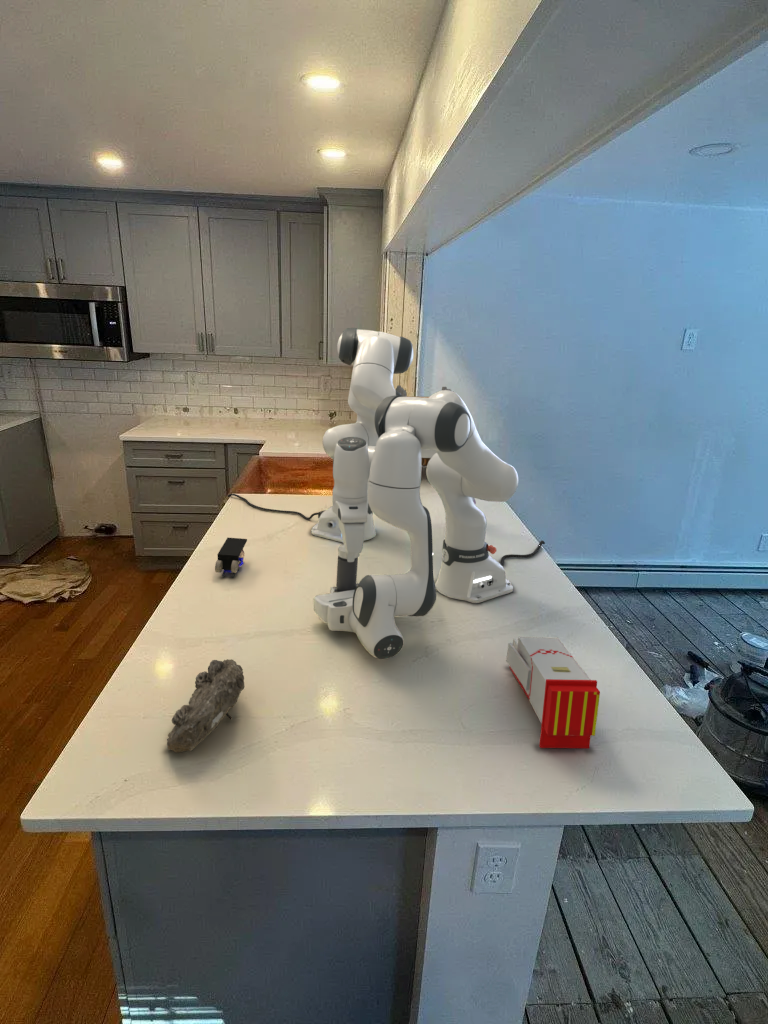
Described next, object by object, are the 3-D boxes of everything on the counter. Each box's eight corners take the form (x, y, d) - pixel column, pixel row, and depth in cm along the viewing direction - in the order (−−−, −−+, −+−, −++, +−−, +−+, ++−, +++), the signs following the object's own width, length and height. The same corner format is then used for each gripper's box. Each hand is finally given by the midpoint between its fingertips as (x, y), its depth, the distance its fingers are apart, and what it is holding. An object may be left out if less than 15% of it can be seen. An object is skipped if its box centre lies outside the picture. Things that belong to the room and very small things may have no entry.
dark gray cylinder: (333, 611, 147) (336, 554, 142) (337, 601, 152) (339, 546, 146) (353, 613, 147) (356, 556, 141) (355, 603, 152) (359, 548, 146)
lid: (353, 548, 148) (353, 542, 147) (363, 556, 144) (363, 550, 143) (334, 552, 145) (334, 545, 145) (344, 560, 141) (344, 553, 140)
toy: (554, 620, 129) (609, 687, 99) (549, 674, 131) (601, 755, 102) (501, 619, 128) (541, 686, 99) (497, 673, 131) (534, 754, 102)
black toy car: (238, 584, 162) (249, 557, 175) (236, 562, 158) (247, 536, 172) (215, 584, 161) (227, 556, 175) (212, 561, 158) (225, 535, 171)
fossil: (192, 660, 117) (244, 628, 112) (224, 691, 120) (276, 661, 115) (142, 746, 98) (202, 712, 93) (182, 779, 101) (242, 748, 96)
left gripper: (333, 491, 149) (332, 539, 153) (342, 519, 130) (340, 573, 135) (357, 490, 150) (355, 539, 155) (369, 518, 131) (367, 572, 136)
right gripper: (403, 595, 139) (381, 571, 151) (323, 608, 132) (307, 582, 144) (401, 617, 141) (380, 592, 153) (323, 631, 134) (307, 604, 146)
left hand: (348, 555), depth 144 cm, fingers closed on lid, 5 cm apart
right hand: (344, 587), depth 148 cm, fingers closed on dark gray cylinder, 5 cm apart
